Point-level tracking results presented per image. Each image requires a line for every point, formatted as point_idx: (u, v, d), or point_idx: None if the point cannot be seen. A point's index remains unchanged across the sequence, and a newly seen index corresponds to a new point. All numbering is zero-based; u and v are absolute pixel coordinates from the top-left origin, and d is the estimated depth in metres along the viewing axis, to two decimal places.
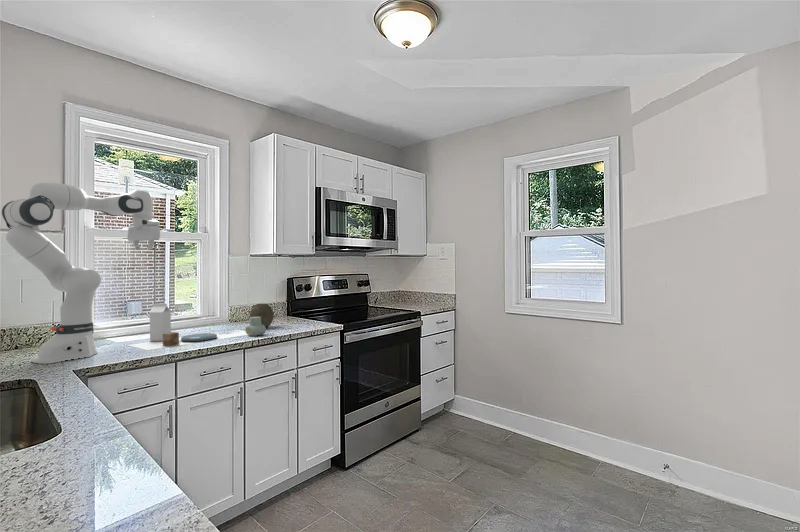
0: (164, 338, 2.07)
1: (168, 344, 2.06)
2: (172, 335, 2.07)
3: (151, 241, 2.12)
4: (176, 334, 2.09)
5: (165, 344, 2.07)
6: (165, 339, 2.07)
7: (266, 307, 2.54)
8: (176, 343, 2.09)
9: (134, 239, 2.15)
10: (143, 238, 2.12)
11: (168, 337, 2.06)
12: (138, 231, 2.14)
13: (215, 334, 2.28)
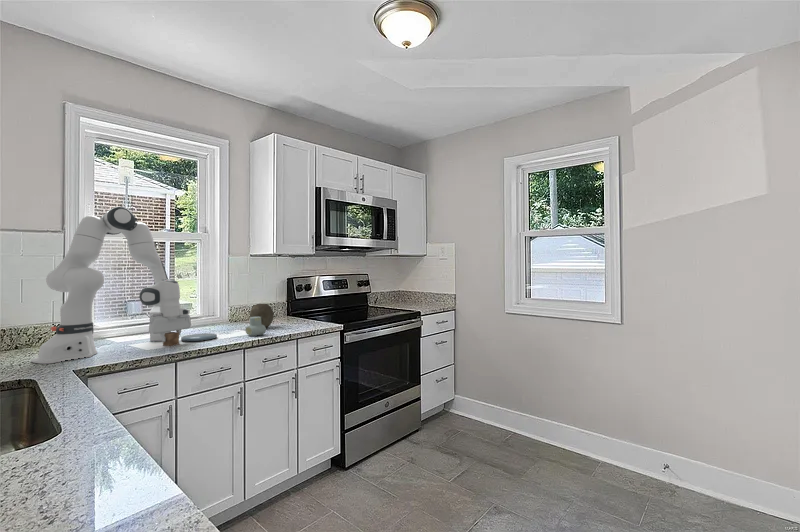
0: None
1: (168, 344, 2.06)
2: (172, 335, 2.07)
3: None
4: (176, 334, 2.09)
5: (165, 344, 2.07)
6: None
7: (266, 307, 2.54)
8: (176, 343, 2.09)
9: (164, 331, 2.04)
10: (178, 328, 2.10)
11: (168, 337, 2.06)
12: (169, 322, 2.07)
13: (215, 334, 2.28)
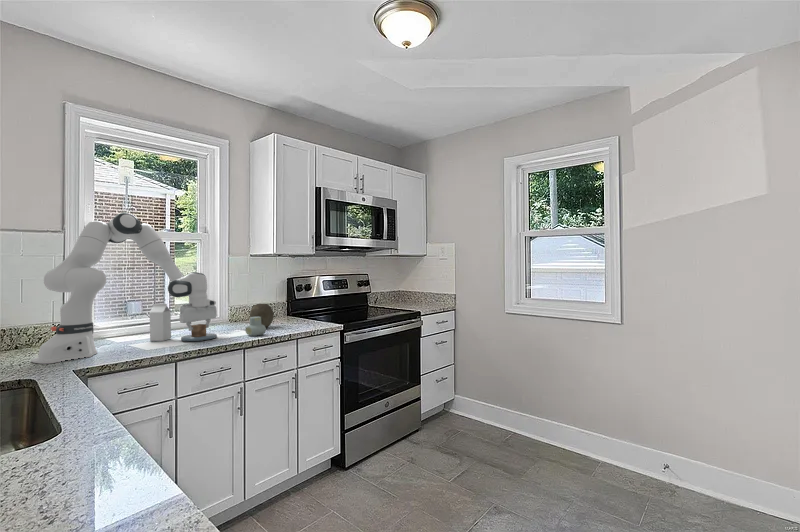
0: (193, 329, 2.21)
1: (196, 335, 2.20)
2: (200, 327, 2.21)
3: None
4: (204, 326, 2.23)
5: (194, 335, 2.21)
6: (193, 330, 2.21)
7: (266, 307, 2.54)
8: (204, 334, 2.23)
9: (193, 320, 2.18)
10: (205, 318, 2.25)
11: (197, 329, 2.20)
12: (198, 312, 2.21)
13: (215, 334, 2.28)
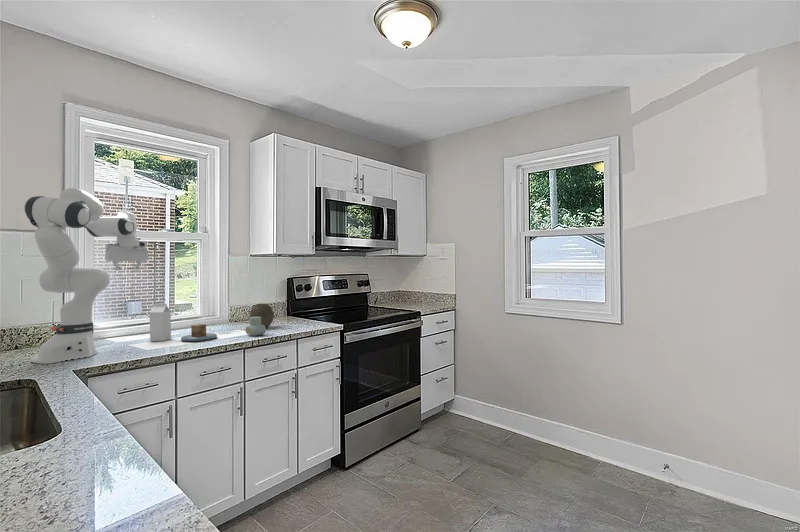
0: (193, 329, 2.21)
1: (196, 335, 2.20)
2: (200, 327, 2.21)
3: None
4: (204, 326, 2.23)
5: (194, 335, 2.21)
6: (193, 330, 2.21)
7: (266, 307, 2.54)
8: (204, 334, 2.23)
9: (120, 259, 2.15)
10: (134, 259, 2.21)
11: (197, 329, 2.20)
12: (126, 252, 2.18)
13: (215, 334, 2.28)
